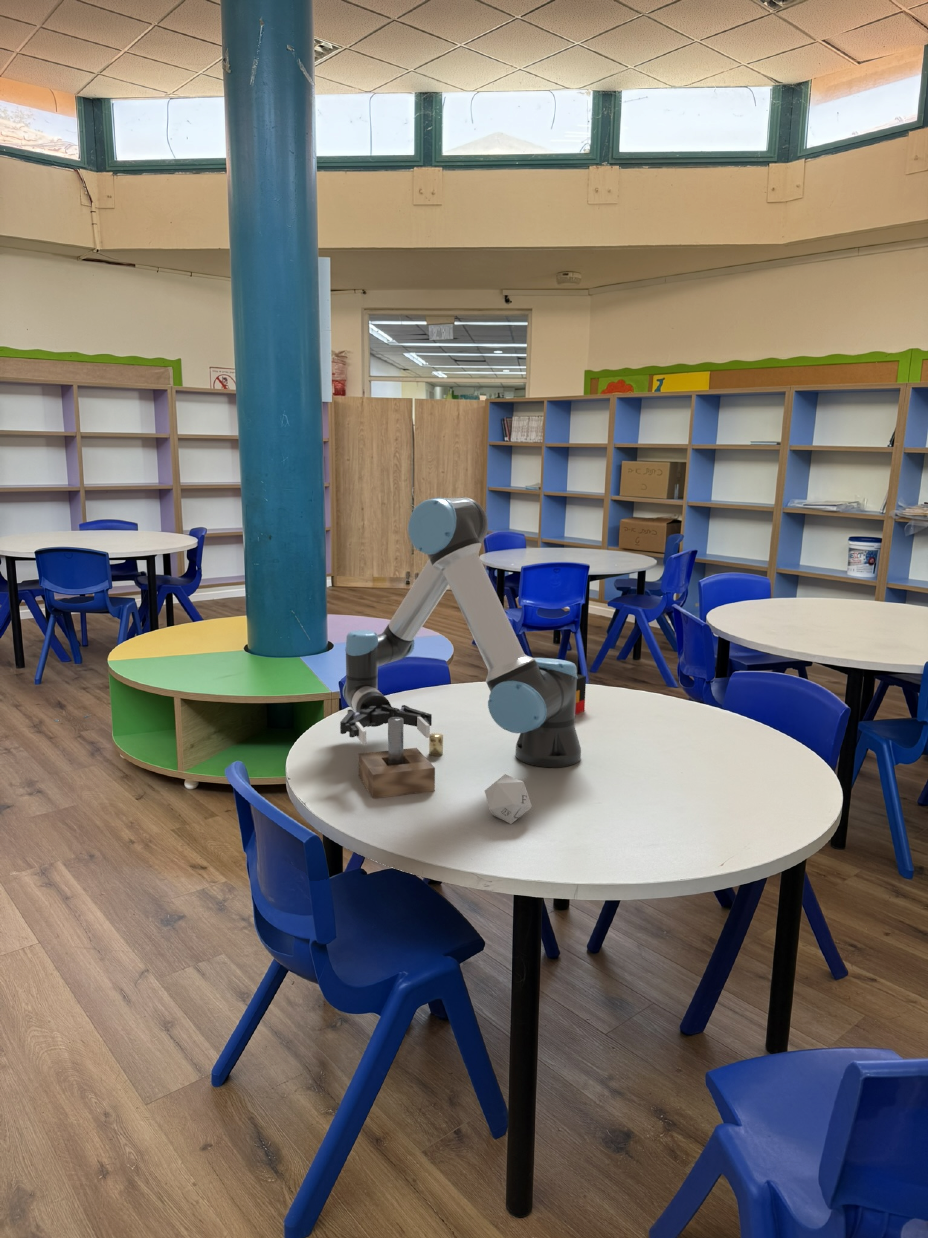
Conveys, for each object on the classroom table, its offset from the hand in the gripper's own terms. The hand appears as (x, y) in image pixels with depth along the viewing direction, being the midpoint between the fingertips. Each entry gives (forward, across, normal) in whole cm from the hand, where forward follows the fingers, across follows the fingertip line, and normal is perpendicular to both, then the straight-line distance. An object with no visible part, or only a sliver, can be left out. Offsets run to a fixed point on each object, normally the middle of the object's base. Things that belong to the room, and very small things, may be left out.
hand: (396, 734), depth 169 cm
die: (+22, -16, -11) cm, 29 cm away
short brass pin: (-16, -14, -11) cm, 24 cm away
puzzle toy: (-39, -58, -11) cm, 71 cm away
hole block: (-1, 0, -11) cm, 11 cm away
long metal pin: (-1, 0, -11) cm, 11 cm away
